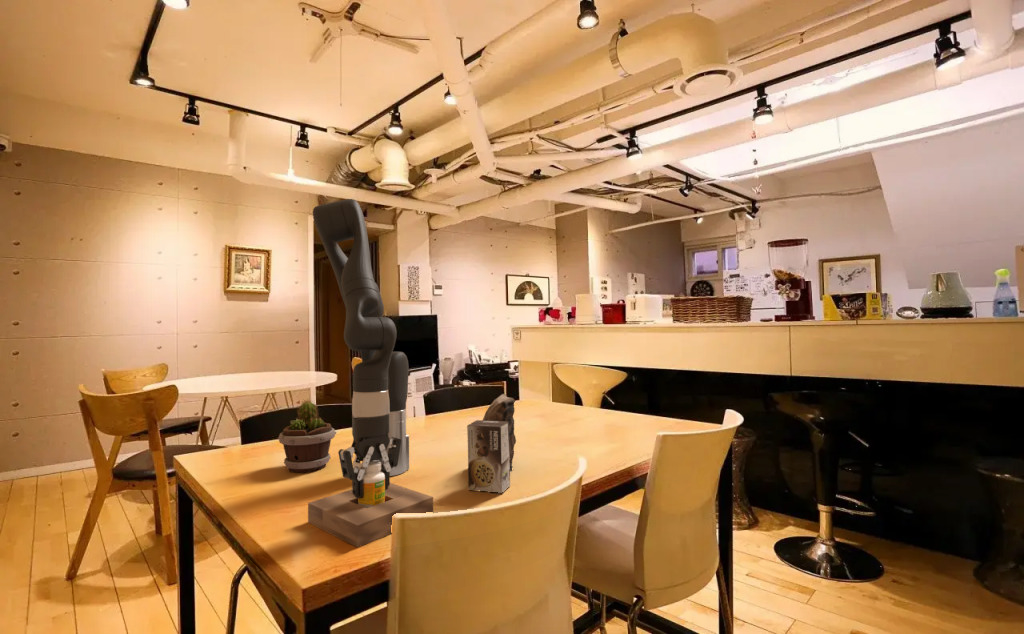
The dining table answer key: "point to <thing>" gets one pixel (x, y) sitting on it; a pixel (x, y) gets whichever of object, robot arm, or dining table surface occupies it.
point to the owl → (503, 418)
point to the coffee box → (488, 456)
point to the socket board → (365, 514)
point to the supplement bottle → (373, 485)
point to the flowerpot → (307, 441)
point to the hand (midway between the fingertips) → (371, 492)
